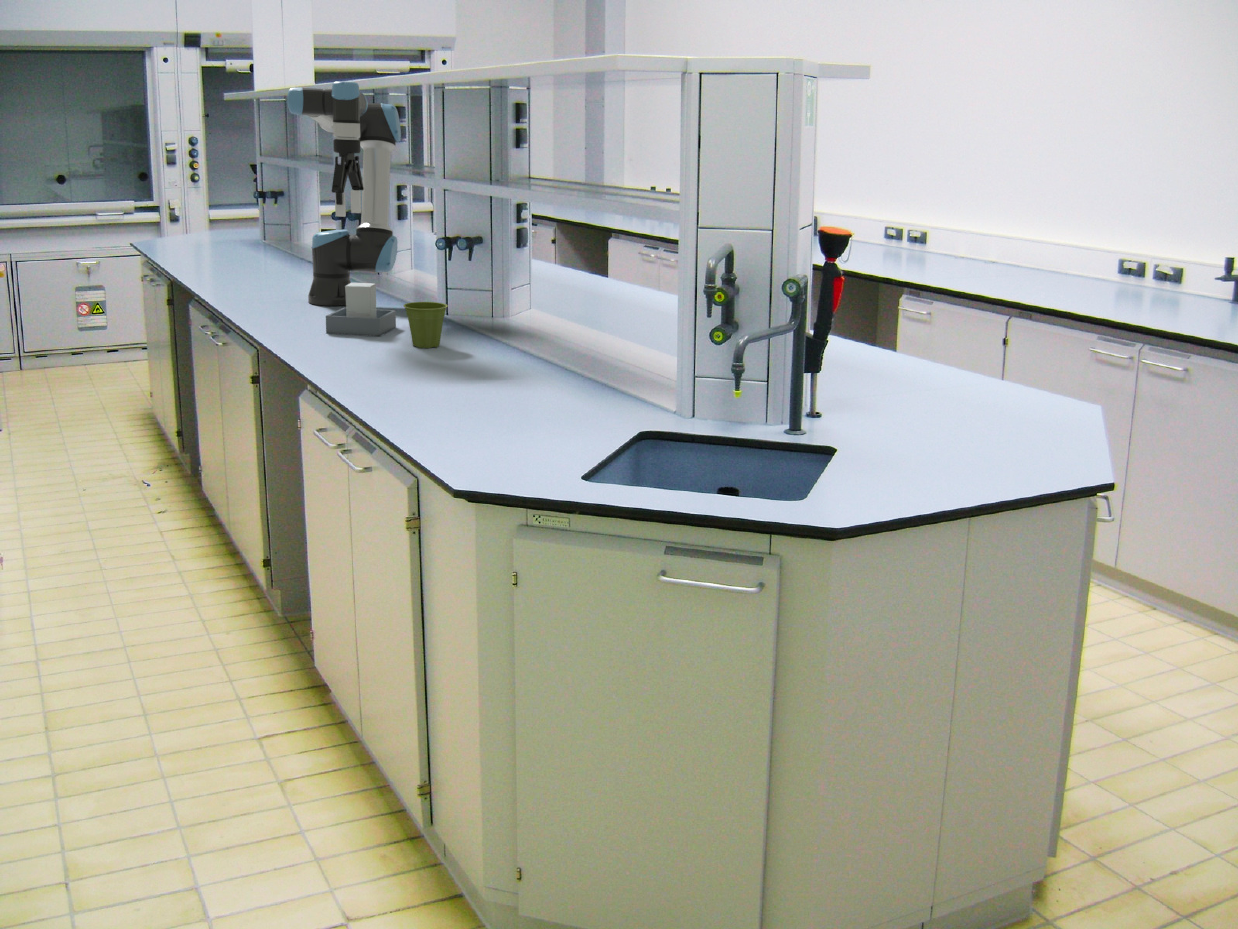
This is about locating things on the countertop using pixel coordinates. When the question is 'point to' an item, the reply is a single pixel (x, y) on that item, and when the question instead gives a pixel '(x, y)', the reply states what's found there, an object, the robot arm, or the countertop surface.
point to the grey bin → (360, 323)
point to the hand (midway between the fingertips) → (348, 214)
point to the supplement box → (361, 300)
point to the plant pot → (425, 322)
